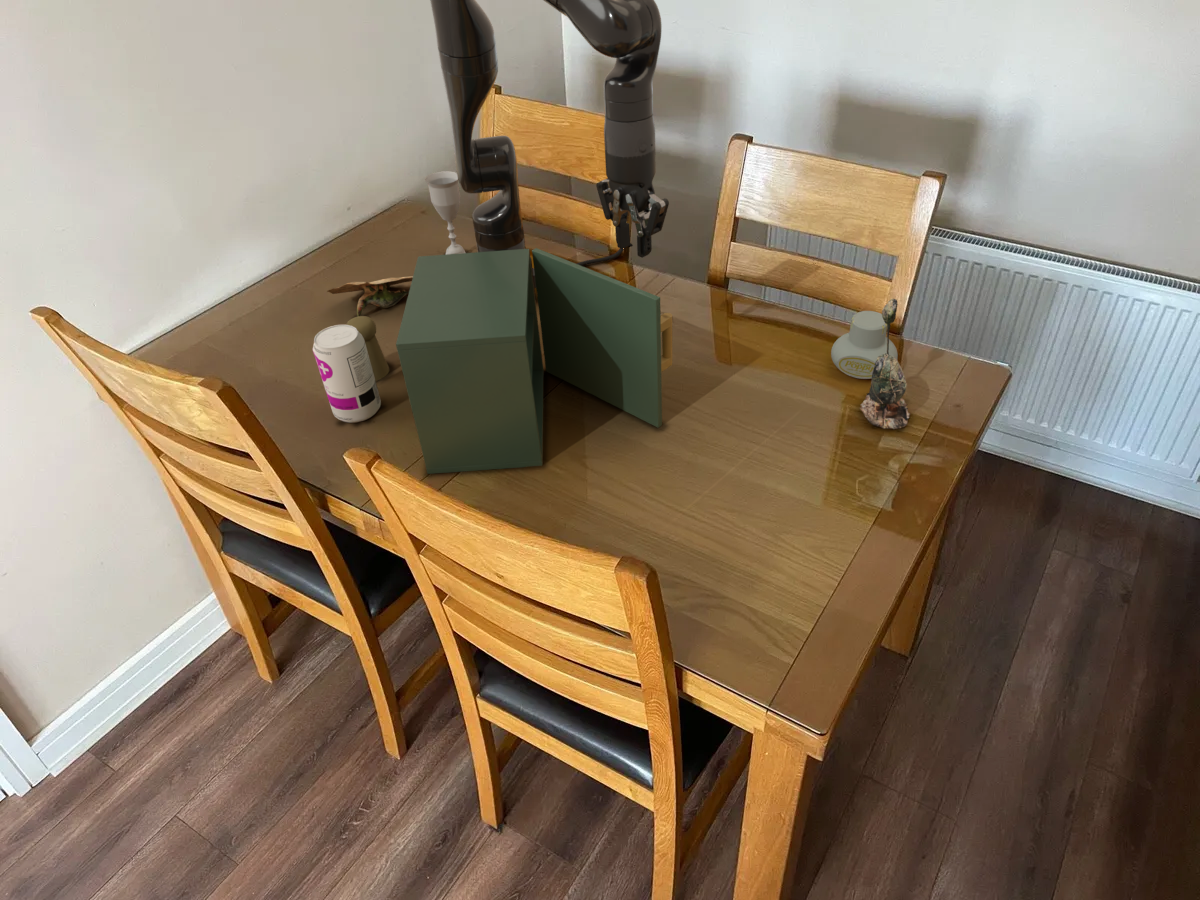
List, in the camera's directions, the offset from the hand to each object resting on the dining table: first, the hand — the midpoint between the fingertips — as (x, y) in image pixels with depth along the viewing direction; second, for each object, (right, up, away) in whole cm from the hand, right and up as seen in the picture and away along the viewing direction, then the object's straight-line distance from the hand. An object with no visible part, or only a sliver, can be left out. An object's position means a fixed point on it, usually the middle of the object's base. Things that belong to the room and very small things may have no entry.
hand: (633, 250), depth 139 cm
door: (-3, -22, +11) cm, 24 cm away
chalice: (-37, +10, +52) cm, 65 cm away
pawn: (-47, -18, +19) cm, 54 cm away
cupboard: (-24, -27, +6) cm, 36 cm away
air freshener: (+40, -18, +12) cm, 45 cm away
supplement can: (-47, -25, +11) cm, 54 cm away
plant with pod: (+40, -27, +1) cm, 48 cm away
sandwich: (-51, -2, +38) cm, 64 cm away
